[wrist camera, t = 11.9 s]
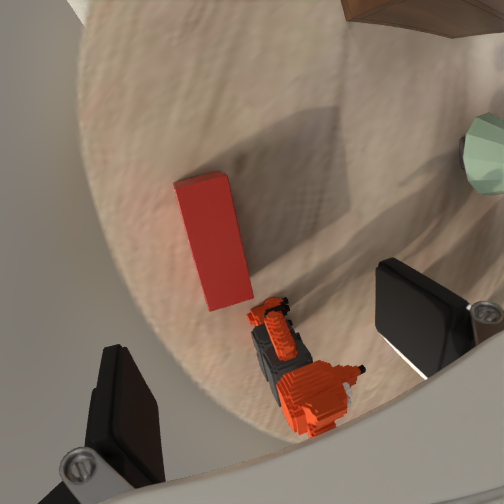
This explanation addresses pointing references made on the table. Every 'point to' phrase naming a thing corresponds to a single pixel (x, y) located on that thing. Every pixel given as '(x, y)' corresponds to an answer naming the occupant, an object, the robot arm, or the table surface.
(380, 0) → the cabinet
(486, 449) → the robot arm
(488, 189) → the character figurine
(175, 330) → the table surface
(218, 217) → the red rectangular block
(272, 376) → the toy animal
